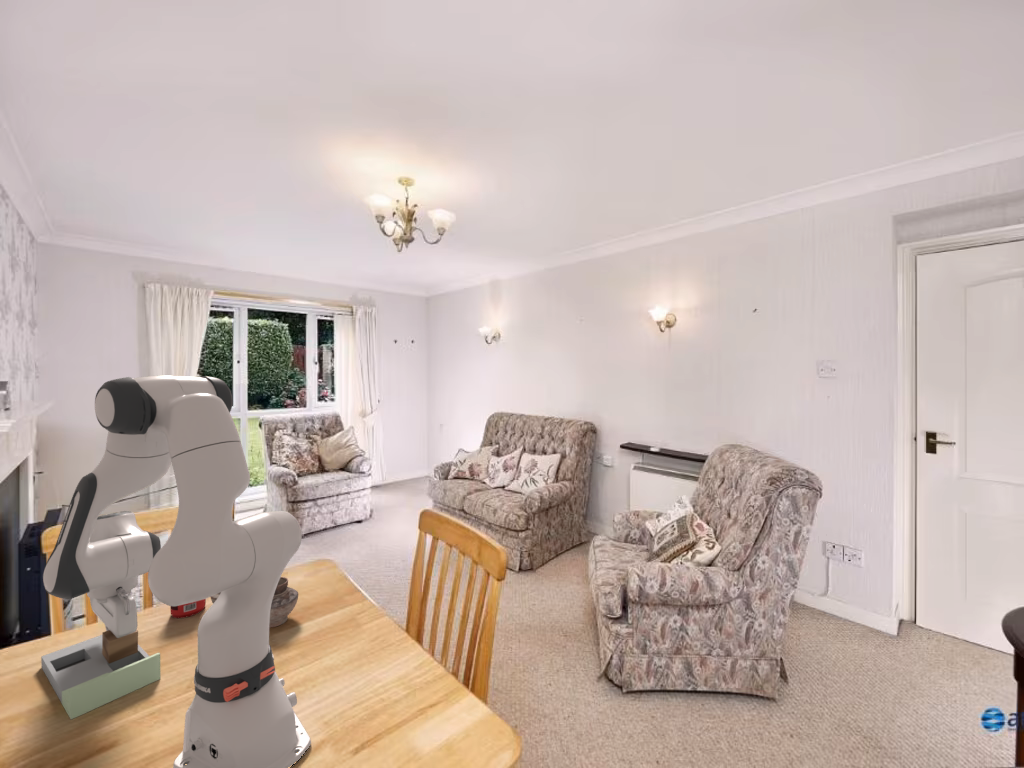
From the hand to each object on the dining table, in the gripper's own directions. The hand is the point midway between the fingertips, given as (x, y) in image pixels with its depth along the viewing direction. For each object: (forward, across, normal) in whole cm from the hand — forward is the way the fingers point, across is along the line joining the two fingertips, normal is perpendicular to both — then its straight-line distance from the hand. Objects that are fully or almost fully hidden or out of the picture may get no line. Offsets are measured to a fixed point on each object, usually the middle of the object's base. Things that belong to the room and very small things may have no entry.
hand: (114, 640), depth 104 cm
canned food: (+4, +9, -18) cm, 21 cm away
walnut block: (+1, -5, 0) cm, 5 cm away
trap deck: (+4, -5, +4) cm, 7 cm away
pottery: (+4, -9, -27) cm, 29 cm away
